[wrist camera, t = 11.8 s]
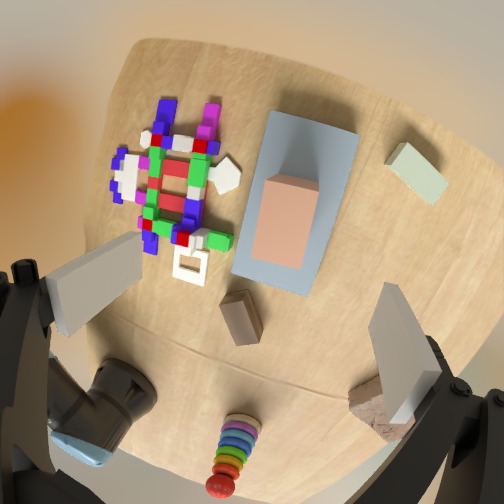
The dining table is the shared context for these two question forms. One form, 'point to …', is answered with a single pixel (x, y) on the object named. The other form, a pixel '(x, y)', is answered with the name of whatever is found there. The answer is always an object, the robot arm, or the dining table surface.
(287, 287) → the base block
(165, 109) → the building block set
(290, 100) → the dining table surface
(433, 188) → the sage block
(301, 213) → the terracotta block
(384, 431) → the brick
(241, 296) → the walnut block
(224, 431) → the stacking toy
